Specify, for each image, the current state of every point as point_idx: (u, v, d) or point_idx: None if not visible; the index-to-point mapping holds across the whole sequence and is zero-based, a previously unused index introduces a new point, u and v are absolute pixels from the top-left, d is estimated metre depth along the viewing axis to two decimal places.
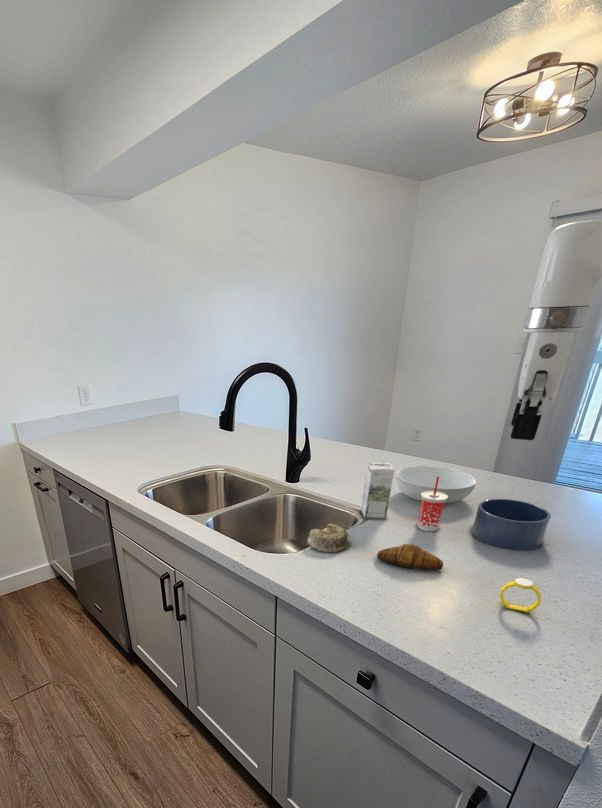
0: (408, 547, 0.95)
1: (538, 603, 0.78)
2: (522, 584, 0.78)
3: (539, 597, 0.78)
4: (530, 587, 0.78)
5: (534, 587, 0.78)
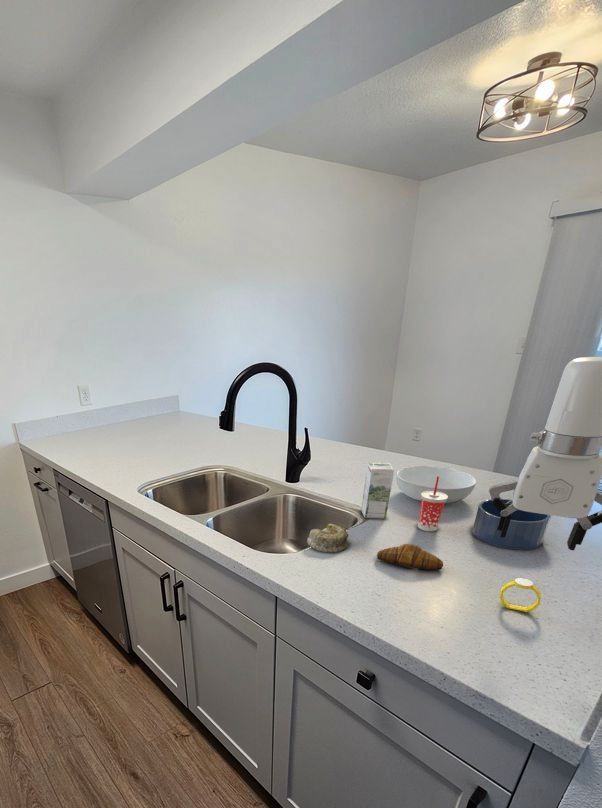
0: (408, 547, 0.95)
1: (538, 603, 0.78)
2: (522, 584, 0.78)
3: (539, 597, 0.78)
4: (530, 587, 0.78)
5: (534, 587, 0.78)
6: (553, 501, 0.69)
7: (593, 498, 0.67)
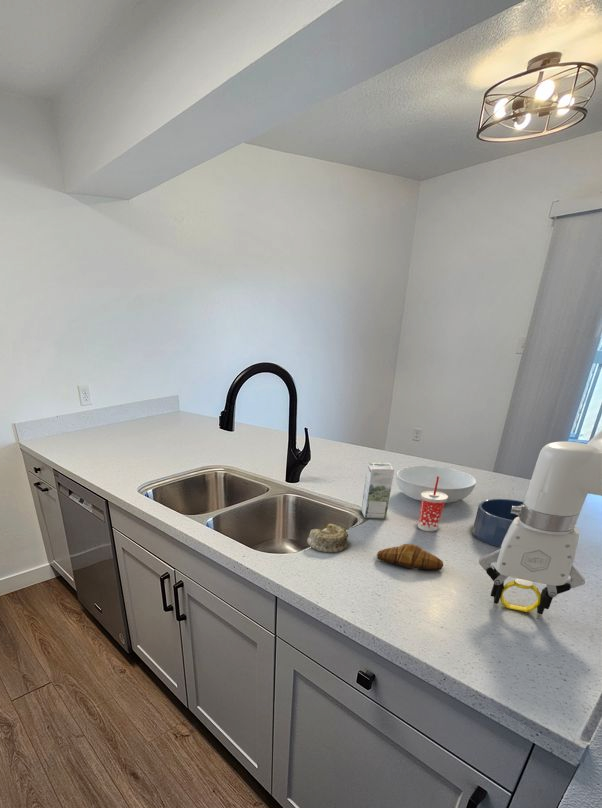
0: (408, 547, 0.95)
1: (538, 603, 0.78)
2: (522, 584, 0.78)
3: (539, 597, 0.78)
4: (530, 587, 0.78)
5: (534, 587, 0.78)
6: (533, 569, 0.75)
7: (569, 569, 0.72)
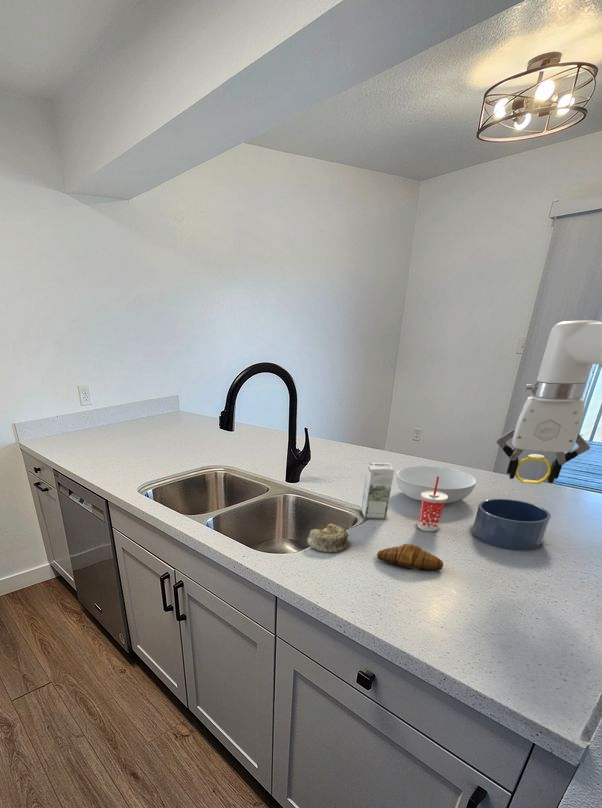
0: (408, 547, 0.95)
1: (549, 473, 0.90)
2: (535, 457, 0.90)
3: (550, 467, 0.90)
4: (542, 459, 0.90)
5: (545, 459, 0.90)
6: (545, 439, 0.86)
7: (576, 434, 0.84)
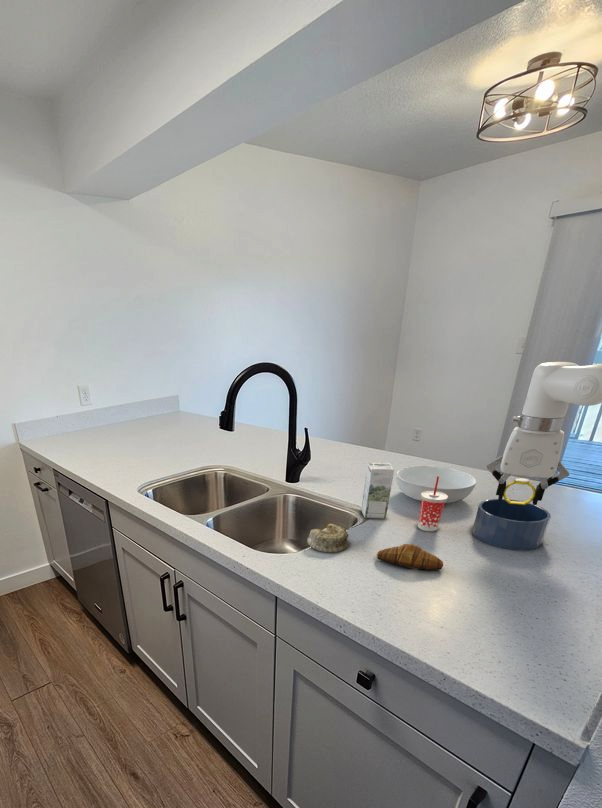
0: (408, 547, 0.95)
1: (533, 496, 1.00)
2: (520, 481, 1.00)
3: (534, 491, 0.99)
4: (527, 483, 0.99)
5: (530, 483, 0.99)
6: (529, 466, 0.96)
7: (557, 462, 0.93)
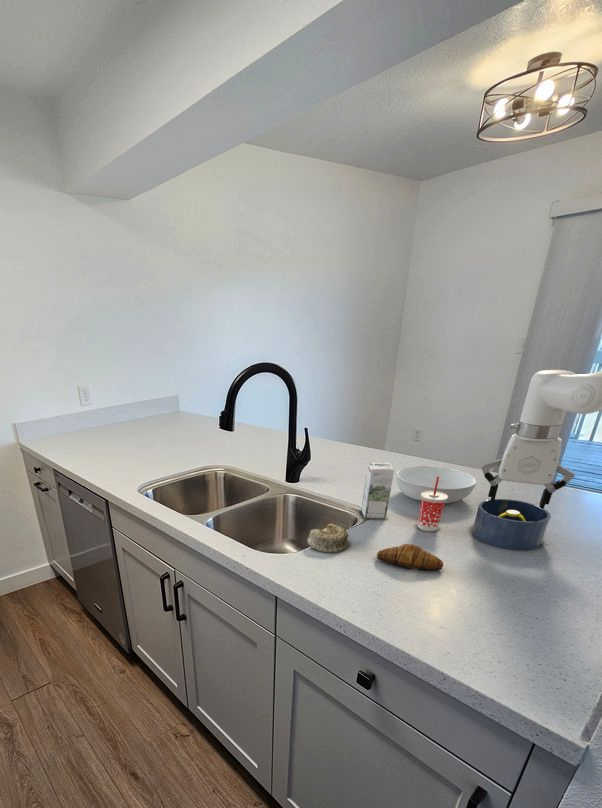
0: (408, 547, 0.95)
1: None
2: (511, 513, 1.03)
3: None
4: (517, 515, 1.03)
5: (521, 515, 1.03)
6: (527, 472, 0.97)
7: (555, 469, 0.94)
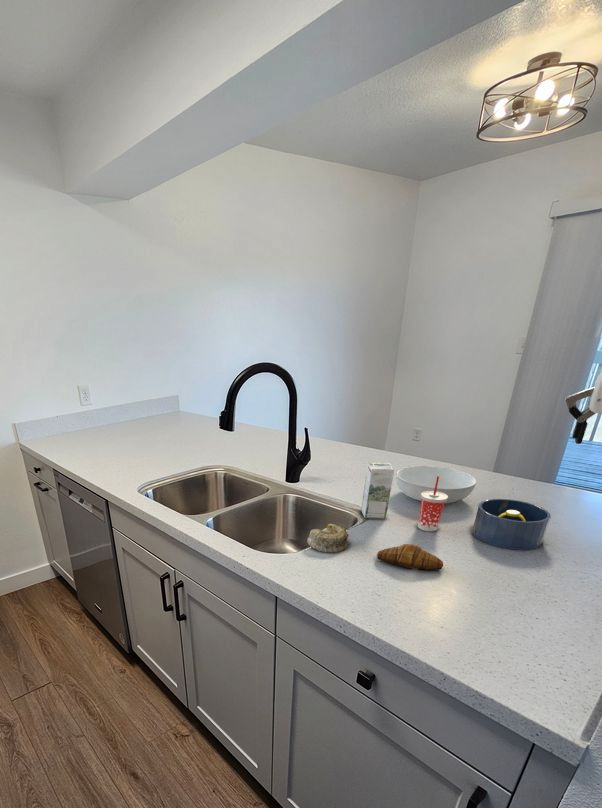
0: (408, 547, 0.95)
1: None
2: (511, 513, 1.03)
3: None
4: (517, 515, 1.03)
5: (521, 515, 1.03)
6: None
7: None
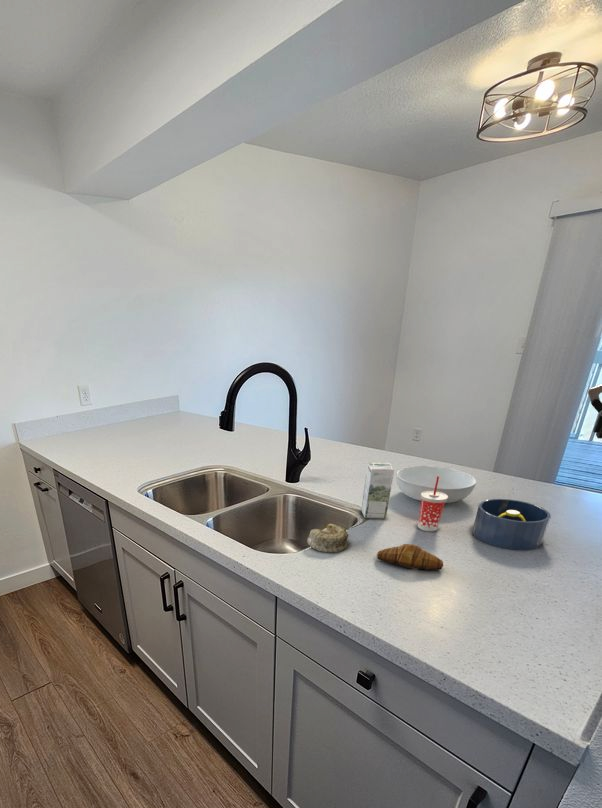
0: (408, 547, 0.95)
1: None
2: (511, 513, 1.03)
3: None
4: (517, 515, 1.03)
5: (521, 515, 1.03)
6: None
7: None
